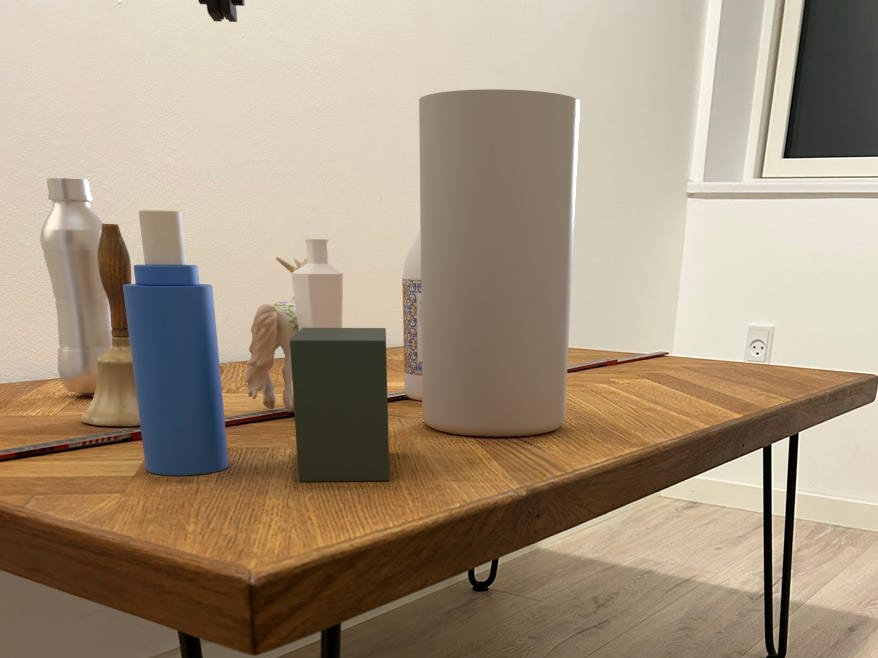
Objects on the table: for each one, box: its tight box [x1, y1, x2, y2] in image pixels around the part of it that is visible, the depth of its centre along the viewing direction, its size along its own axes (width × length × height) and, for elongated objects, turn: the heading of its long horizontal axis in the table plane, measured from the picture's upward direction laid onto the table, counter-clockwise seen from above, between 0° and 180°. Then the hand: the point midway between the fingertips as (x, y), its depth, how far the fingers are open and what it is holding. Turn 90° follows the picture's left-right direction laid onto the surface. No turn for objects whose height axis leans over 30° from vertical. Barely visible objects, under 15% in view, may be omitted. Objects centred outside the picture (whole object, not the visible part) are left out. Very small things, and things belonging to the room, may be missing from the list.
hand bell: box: [80, 223, 140, 427], centre depth 81 cm, size 8×8×16 cm
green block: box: [290, 327, 390, 483], centre depth 66 cm, size 6×10×9 cm, turn 5°
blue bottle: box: [123, 209, 230, 477], centre depth 63 cm, size 12×6×16 cm
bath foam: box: [401, 230, 422, 402], centre depth 95 cm, size 7×7×20 cm
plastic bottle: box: [39, 177, 112, 397], centre depth 93 cm, size 6×7×20 cm
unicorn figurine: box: [244, 256, 307, 414], centre depth 90 cm, size 7×20×13 cm, turn 1°
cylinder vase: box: [418, 88, 581, 438], centre depth 78 cm, size 12×12×25 cm
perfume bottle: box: [290, 238, 344, 331], centre depth 84 cm, size 5×4×15 cm
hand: (222, 17), depth 66 cm, fingers closed
